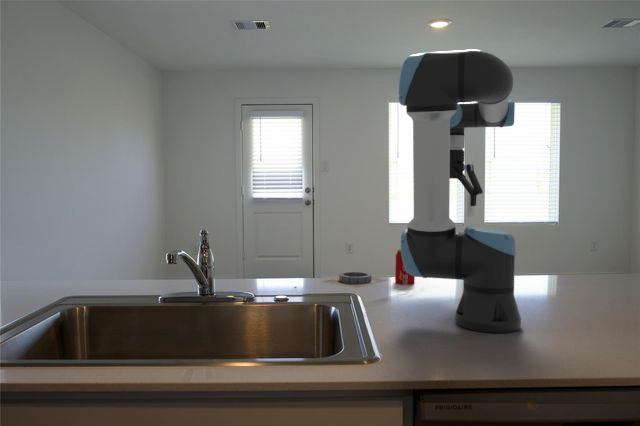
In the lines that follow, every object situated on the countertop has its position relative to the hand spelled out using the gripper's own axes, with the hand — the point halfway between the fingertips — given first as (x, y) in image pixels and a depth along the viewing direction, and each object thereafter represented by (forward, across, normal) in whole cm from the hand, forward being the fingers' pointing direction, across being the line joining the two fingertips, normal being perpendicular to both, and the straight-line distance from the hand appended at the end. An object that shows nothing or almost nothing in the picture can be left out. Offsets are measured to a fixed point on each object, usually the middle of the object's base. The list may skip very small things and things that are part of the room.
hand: (450, 215), depth 169 cm
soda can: (+24, +10, +11) cm, 28 cm away
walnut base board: (+23, +24, +20) cm, 39 cm away
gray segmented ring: (+22, +24, +20) cm, 38 cm away
